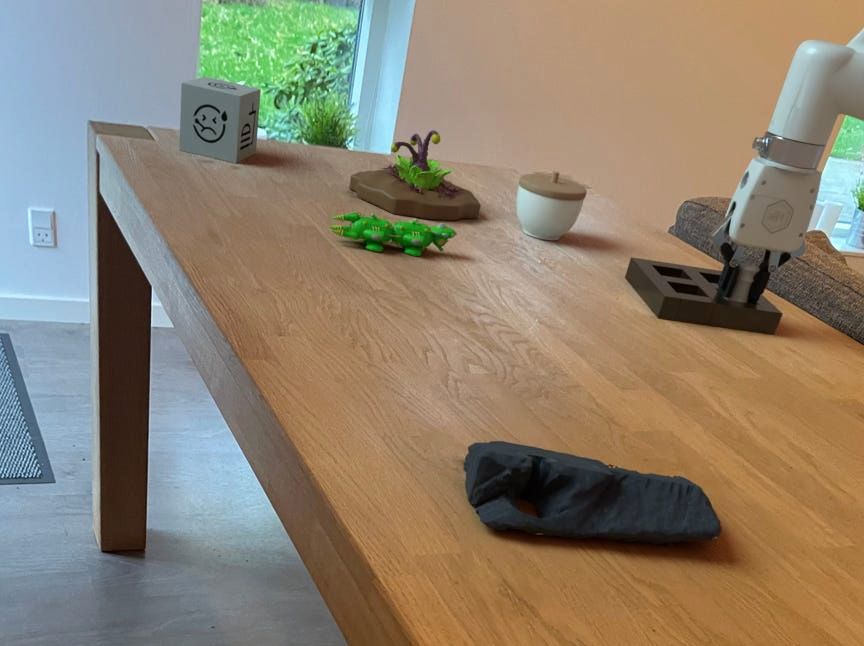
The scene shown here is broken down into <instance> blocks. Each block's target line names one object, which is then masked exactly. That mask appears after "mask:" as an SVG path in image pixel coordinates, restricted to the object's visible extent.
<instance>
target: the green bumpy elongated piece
mask: <svg viewBox="0 0 864 646" xmlns="http://www.w3.org/2000/svg"><path fill="white" fill-rule="evenodd" d="M369 215H370V217H368V216H367V215H365V214H364V213H362V212H360V211H357V210H356V211H353V212H348V213H347V214H344V213H341V214H339V215H338V214H337V215H336V216H335V215H334V217H331V220H335V221H337V222H342V223H344V222H349V226H348V225H347V226H342V225H341V224H339V225H332V226H330V227H329V229H331V232H332V233H333V234H334V235H336V236H337V237H340V238H342V237H343V238H346V239H348V240H350V241H354V242H360V243H366V246H365V248H366V250H369V251H372V252H376V253H381V252H383V251H384V247H383V246H385V245H386V244H388V245H395V246H397V247H404V249H405V250H404V251H403V252H404V254H407V255H409V256H413V257H421V256H422V253H423V252H424V250H425V249H426V248H428V247H429V246H430V245H431V244H433V245H434V246H436V248H437V249H438V250H439V251H440V252H444V251H446V250H445V249H444V248H443V247H444V246H445V245H446V244H447V243H449V240H450V239H453V238H455V237H456V236H457V235H458V232H456V230H454V229H453V228H451V227H449V226H447V224H445V223H444V222H439V223H438V224H437V225H435V226H429V225H427V224H424V223H420V221H419V219H418V218H413V220H411V221H409V222H407V221H400V220H397V221H396V222H395V221H394V220H386V219H385V218H378V217H377V215H376V214H375V213H372V212H371V213H369ZM381 244H382V245H383V246H382V245H381Z"/></svg>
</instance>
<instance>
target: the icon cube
mask: <svg viewBox="0 0 864 646" xmlns="http://www.w3.org/2000/svg"><path fill="white" fill-rule="evenodd" d="M260 104H261V88H258V87H254V86H248V85H246V84H245V85H244V84H241V83H236V82H231V81H227V80H222V79H218V78H215V77H214V78H213V77H210V76H202V77H201V76H200V77H199V78H194V79H190V80H188V81H183V82H181V87H180V114H179V115H180V116H179V118H180V120H179V121H180V122H179V147H178V148H179V151H181V152H186V153H191V154H194V155H199V156H203V157H206V158H207V157H208V158H212V159H215V160H219V161H220V160H221V161H225V162H229V163H234V164H237V163H240V162H242V161H244V160H246V159H248V158H249V157H252V156H253V155H256V153H257V143H258V131H259V130H258V129H259V116H260Z"/></svg>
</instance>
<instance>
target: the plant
mask: <svg viewBox="0 0 864 646" xmlns="http://www.w3.org/2000/svg"><path fill="white" fill-rule="evenodd" d="M430 141H431V142H432V143H433V144H434V145H438V144H439V143H440V142H441V135H440V134H439V132H438V131H436V130H433V129H432V130H430V131H429V132H428V133H427V135H426V137H425V138H424V139H423V141H422V138H421V137H420V134H418V133H414V134H413V135H412V136H411V137H410V139H409V142H405V141H396V142H394V143H392V144H391V146H390V152H391V153H398V152H399V150H400V149H401V147H406V149H408V150H409V152H410V154H411V156H410V157H409V158H410V159H409V161H408V159H406V158H405V157H403V156H402V155H400V154H396V156H395V157H396V159H397V161H398V163H397V162H396V161H394V162H393V164H394V165H393V166H392V164H389V165H386V164H385V166H384V167H382V168H380V169H376V170H366V171H358V172H355V173H354V174H351V175H350V180H349V187H348V189H349V190H351V191H352V192H355V193H356V197H357V198H359V199H361V200H363V201H365V202H368V203H369V204H372V205H374V206H376V207H378V208H381V209H383V210H385V211H387V212H388V213H391V214H393V215H399V216H406V217H407V216H408V217H413V218H416V219H423V220H433V221H458V220H460V219H479V218H480V213H481V203H480V202H479V200H478V199H477V197H476V196H475V195H474V194H473V192H472V191H470V190H469V189H467V188H462V187H461V186H458V185H457V184H454V183H452V181H450V180H446V179H445V178H444V177H445V176H447V175H449V174H450V173H451V172H453V169H444V170H443V168H442V167H440V165H441V163H440V161H435V159H433V158H431V159H428V156H429V152H428V151H429V145H430ZM414 146H417V151H416V150H415V148H414ZM439 167H440V168H439Z"/></svg>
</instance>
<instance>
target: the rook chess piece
mask: <svg viewBox="0 0 864 646" xmlns="http://www.w3.org/2000/svg"><path fill="white" fill-rule="evenodd" d="M749 258H750V257H749V256H742V258H741V260H740V262H739V264H738V268H739V269H740V272H739V275H738V277H737V280H736V283H735V286H734V288H733V291H732V294H731V296H730V297H724V298H725V299H726V300H731V301H737V302H744V303H748V302H747V297H748V293H749V289H750V286H751V283H752V282H753V281H754V279H753V278H754V275H755V274H756V273H757V272H758V271H760V269H759V266H760V264H761V262H760V260H759V259H756V258H753V257H751V259H750V260H749Z"/></svg>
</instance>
